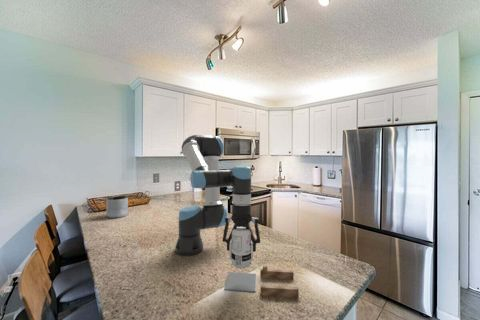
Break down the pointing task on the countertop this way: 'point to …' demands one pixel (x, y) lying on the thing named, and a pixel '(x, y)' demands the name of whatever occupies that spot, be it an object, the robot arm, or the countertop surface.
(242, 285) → the mat
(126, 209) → the planter
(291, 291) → the cradle
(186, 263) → the countertop surface
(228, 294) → the countertop surface
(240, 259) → the supplement can
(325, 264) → the countertop surface
